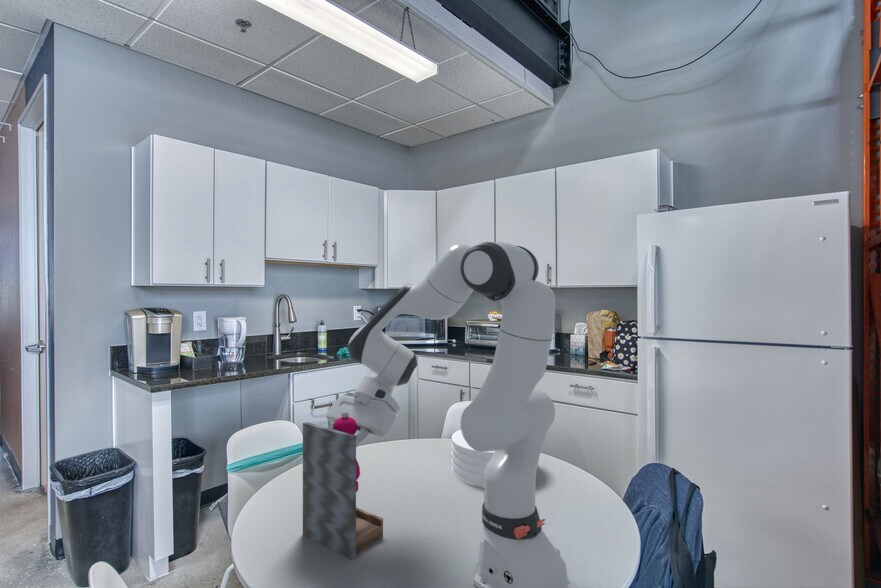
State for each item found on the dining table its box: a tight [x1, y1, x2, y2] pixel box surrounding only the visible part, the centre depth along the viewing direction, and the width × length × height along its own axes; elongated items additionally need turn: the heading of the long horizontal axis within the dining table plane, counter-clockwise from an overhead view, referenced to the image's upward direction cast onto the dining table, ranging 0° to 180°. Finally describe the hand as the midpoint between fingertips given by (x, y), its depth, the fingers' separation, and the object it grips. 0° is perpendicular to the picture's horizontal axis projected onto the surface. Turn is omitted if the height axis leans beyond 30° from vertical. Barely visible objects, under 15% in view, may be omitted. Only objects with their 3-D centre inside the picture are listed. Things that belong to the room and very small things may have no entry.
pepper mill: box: [332, 411, 361, 493], centre depth 112 cm, size 7×7×20 cm
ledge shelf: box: [302, 421, 384, 560], centre depth 111 cm, size 18×11×28 cm, turn 54°
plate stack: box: [451, 429, 494, 489], centre depth 152 cm, size 28×28×12 cm
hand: (343, 443), depth 111 cm, fingers closed on pepper mill, 5 cm apart
